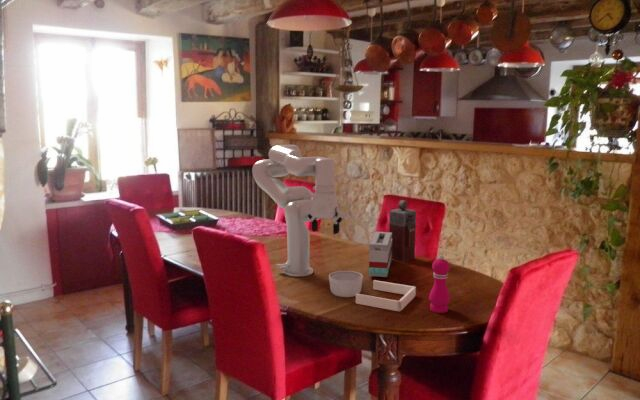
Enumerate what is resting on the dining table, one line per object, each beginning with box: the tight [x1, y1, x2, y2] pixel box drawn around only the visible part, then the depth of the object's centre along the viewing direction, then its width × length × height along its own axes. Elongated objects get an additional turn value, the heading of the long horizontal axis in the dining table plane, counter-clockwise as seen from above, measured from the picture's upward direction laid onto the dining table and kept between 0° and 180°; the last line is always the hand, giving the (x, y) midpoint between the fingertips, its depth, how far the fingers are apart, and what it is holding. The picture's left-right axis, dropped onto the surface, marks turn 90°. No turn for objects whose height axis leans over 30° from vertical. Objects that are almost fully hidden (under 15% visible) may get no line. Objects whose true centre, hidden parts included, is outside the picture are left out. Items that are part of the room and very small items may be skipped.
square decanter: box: [388, 199, 417, 263], centre depth 245 cm, size 9×11×28 cm
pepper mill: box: [428, 254, 451, 314], centre depth 183 cm, size 7×7×20 cm
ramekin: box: [328, 270, 364, 298], centre depth 202 cm, size 13×13×7 cm
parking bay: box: [355, 279, 417, 313], centre depth 195 cm, size 17×18×4 cm
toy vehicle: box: [368, 231, 393, 278], centre depth 231 cm, size 8×30×15 cm, turn 168°
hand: (325, 232), depth 208 cm, fingers open, 9 cm apart
